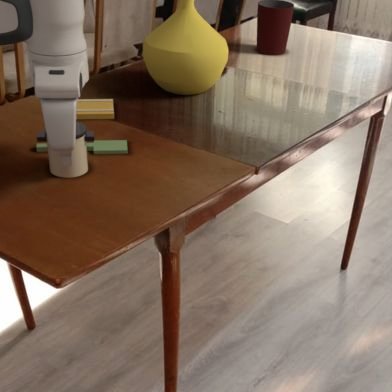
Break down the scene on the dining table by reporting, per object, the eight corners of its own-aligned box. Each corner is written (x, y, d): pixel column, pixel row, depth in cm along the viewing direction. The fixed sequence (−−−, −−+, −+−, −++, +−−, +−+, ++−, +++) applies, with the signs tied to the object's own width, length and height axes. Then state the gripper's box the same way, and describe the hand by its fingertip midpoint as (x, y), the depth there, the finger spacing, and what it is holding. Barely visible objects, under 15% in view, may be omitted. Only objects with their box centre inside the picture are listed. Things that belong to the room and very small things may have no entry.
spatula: (36, 155, 110) (35, 150, 109) (37, 145, 113) (37, 140, 113) (127, 154, 112) (127, 148, 111) (126, 144, 115) (126, 138, 114)
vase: (126, 84, 139) (123, -14, 127) (189, 69, 149) (191, -23, 136) (179, 108, 129) (181, 5, 117) (243, 91, 138) (251, -7, 126)
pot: (40, 179, 103) (33, 130, 98) (42, 161, 108) (36, 113, 103) (96, 178, 104) (93, 129, 99) (96, 160, 109) (93, 113, 104)
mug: (261, 41, 168) (266, -5, 161) (293, 46, 166) (299, -1, 159) (249, 53, 159) (254, 5, 152) (283, 58, 157) (289, 10, 150)
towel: (52, 120, 122) (51, 112, 121) (54, 105, 128) (53, 98, 127) (114, 119, 124) (113, 112, 123) (113, 104, 130) (112, 97, 129)
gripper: (42, 47, 103) (51, 129, 112) (33, 90, 88) (45, 182, 97) (81, 47, 103) (87, 129, 113) (79, 90, 88) (86, 181, 97)
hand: (67, 154), depth 104 cm, fingers closed on pot, 6 cm apart
